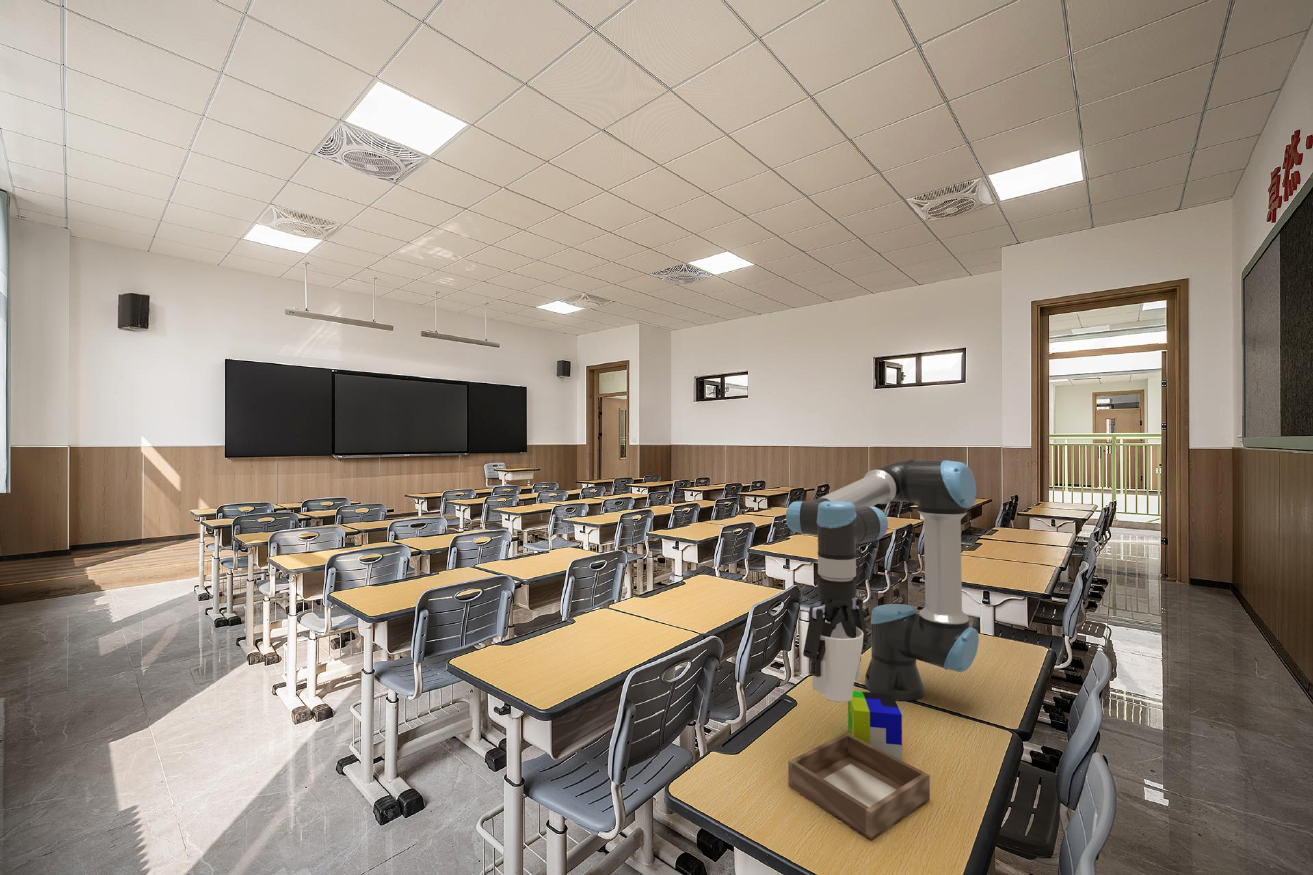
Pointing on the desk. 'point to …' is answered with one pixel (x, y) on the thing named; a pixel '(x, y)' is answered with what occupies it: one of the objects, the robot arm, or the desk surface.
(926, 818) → the desk surface
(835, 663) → the cup
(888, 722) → the puzzle toy
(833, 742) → the walled box
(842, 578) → the robot arm
